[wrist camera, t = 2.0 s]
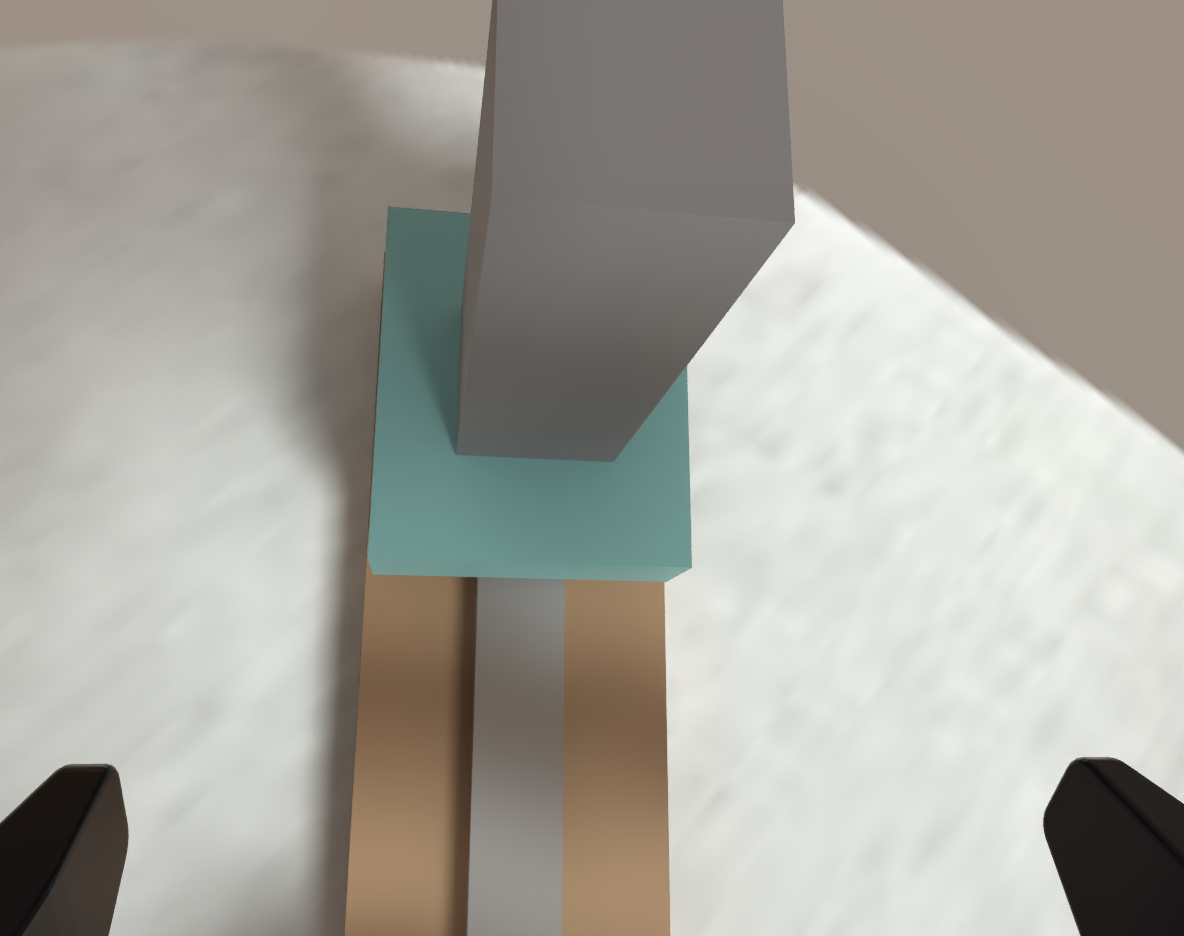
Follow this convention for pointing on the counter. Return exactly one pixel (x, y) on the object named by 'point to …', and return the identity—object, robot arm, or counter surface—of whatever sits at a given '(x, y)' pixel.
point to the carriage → (577, 290)
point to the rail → (510, 758)
